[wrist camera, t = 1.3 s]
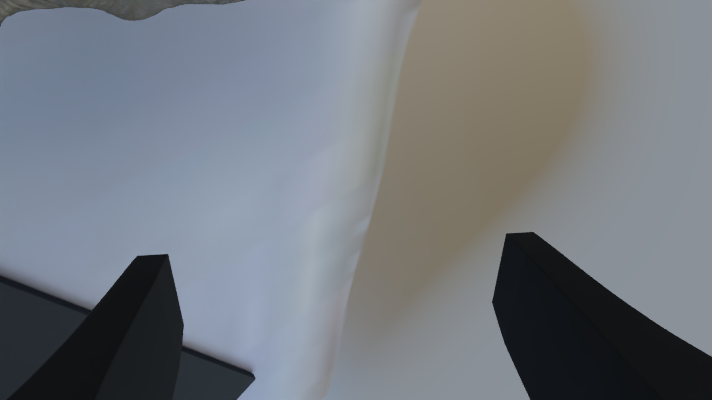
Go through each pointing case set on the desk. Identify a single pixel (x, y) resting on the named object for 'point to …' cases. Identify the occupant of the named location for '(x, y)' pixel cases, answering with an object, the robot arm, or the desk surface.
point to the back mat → (60, 319)
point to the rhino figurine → (103, 6)
